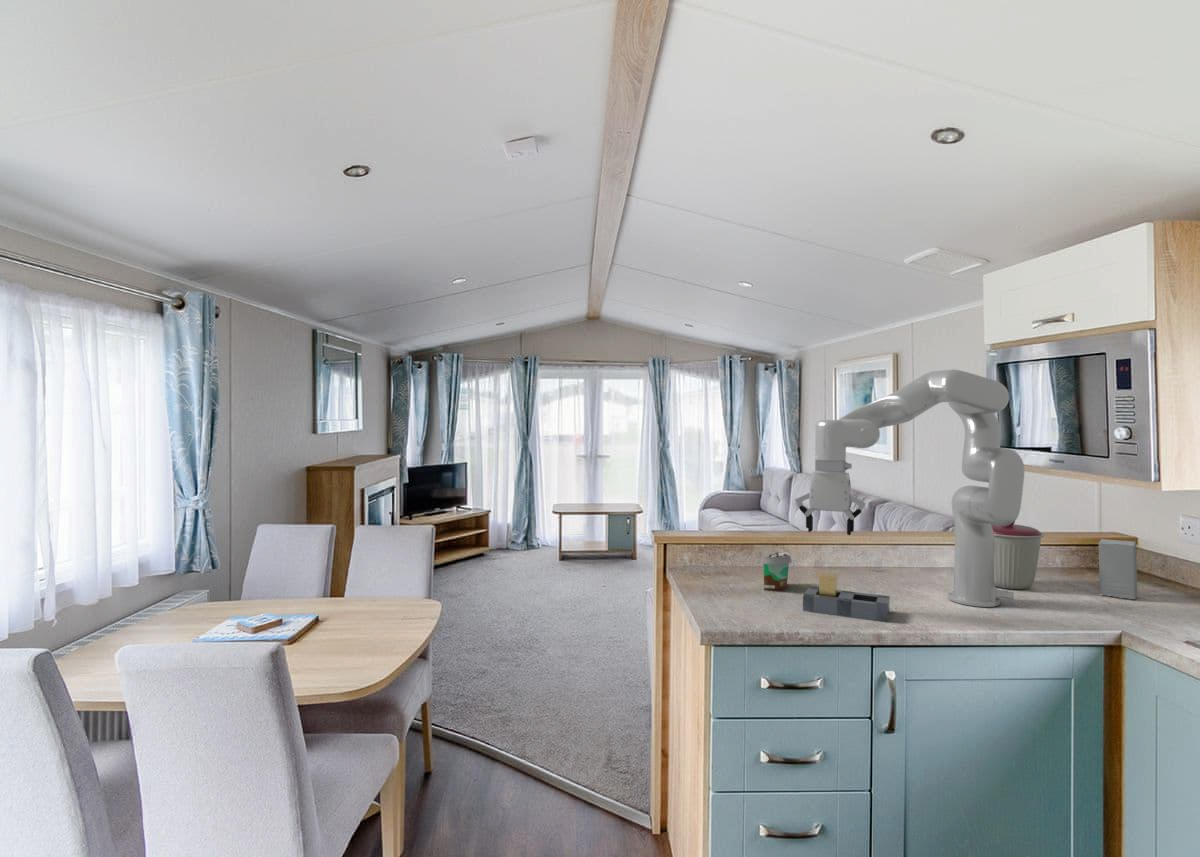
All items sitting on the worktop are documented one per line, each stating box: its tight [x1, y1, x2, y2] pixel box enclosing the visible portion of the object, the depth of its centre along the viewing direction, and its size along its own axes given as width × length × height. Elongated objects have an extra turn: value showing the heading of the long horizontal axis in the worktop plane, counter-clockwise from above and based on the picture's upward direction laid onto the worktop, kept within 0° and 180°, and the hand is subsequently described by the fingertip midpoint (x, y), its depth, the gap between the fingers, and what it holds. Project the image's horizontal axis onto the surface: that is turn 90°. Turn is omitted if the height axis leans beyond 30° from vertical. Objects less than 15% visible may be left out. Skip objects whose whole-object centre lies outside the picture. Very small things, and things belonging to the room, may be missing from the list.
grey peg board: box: [802, 586, 891, 623], centre depth 171 cm, size 20×10×4 cm, turn 63°
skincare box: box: [1098, 538, 1138, 600], centre depth 188 cm, size 8×7×16 cm
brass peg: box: [818, 571, 838, 597], centre depth 173 cm, size 4×4×9 cm
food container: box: [762, 549, 792, 592], centre depth 193 cm, size 12×6×10 cm, turn 148°
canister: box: [991, 520, 1045, 590], centre depth 199 cm, size 18×18×21 cm
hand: (829, 532), depth 173 cm, fingers open, 9 cm apart
